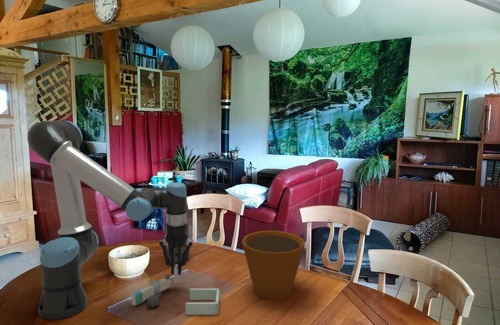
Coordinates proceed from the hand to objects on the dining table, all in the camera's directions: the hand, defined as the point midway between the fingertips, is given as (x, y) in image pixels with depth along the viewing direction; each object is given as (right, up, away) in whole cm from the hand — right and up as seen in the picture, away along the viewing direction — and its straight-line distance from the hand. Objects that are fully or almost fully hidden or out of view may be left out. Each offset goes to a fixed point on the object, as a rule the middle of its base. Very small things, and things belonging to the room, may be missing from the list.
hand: (176, 281), depth 139 cm
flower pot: (+37, -3, -1) cm, 37 cm away
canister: (-5, +1, +27) cm, 27 cm away
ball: (-5, -4, -13) cm, 15 cm away
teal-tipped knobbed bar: (-7, -2, -7) cm, 11 cm away
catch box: (+12, -4, -13) cm, 18 cm away
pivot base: (-7, -3, -6) cm, 9 cm away
